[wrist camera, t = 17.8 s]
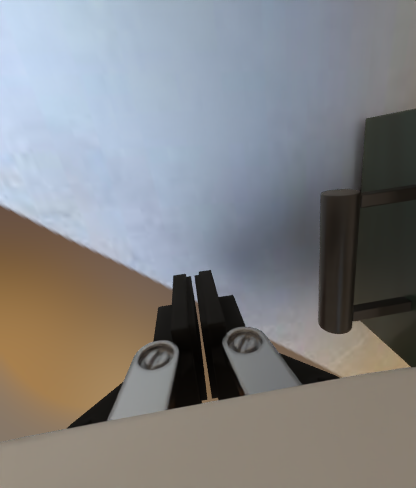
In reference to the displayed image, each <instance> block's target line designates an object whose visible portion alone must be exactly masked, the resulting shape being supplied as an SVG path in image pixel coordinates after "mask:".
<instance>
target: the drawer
mask: <svg viewBox="0 0 416 488" xmlns="http://www.w3.org/2000/svg"><path fill="white" fill-rule="evenodd" d="M359 320H360V321H361V322H362V323H363V324H365V325H366V326H367V327H368V328H369V329H370V330H371V331H372V332H373V333H374V334H376V335H377V336H378V337H379V338H380V339H381V340H382V341H383V342H384V343H385V344H387V345H388V346H389V347H390V348H391V349H392V350H393V351H394V352H395V353H396V354H398V355H399V356H400V357H401V358H402V359H403V360H404V361H405V362H406V363H407V364H409V365H410V366H411V367H416V109H411V110H406V111H401V112H396V113H391V114H386V115H381V116H376V117H371V118H367V119H366V124H365V139H364V153H363V168H362V182H361V191H359V190H353V189H337V190H329V191H325V192H322V193H321V200H320V255H319V311H318V323H319V325H320V327H321V328H322V329H324V330H325V331H328V332H330V333H334V334H344V333H347V332H349V331H350V330H351V328H352V321H359Z"/></svg>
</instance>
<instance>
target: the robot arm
mask: <svg viewBox="0 0 416 488" xmlns="http://www.w3.org/2000/svg"><path fill="white" fill-rule="evenodd" d="M195 283H196V290H197V298H198V306H199V314H200V322H201V329H202V336H203V342H204V349H205V355H206V362H207V368H208V374H209V381H210V388H211V394H212V398H218V399H219V400H218V401H213V402H208V403H202V400H207V393H206V384H205V375H204V367H203V358H202V349H201V341H200V332H199V325H198V319H197V313H196V306H195V300H194V293H193V287H192V280H191V276H189V277H186V274H181V275H175V276H173V294H172V305H168V306H162V307H159V308H158V313H157V321H156V327H155V334H154V341H153V342H152V343H149V344H147V345H145V346H144V347H142V348H141V349H140V350H139V351H138V352H137V353H136V355H135V356H134V358H133V361H132V363H131V365H130V368H129V370H128V372H127V375H126V377H125V379H124V382H122V383H121V384H120V385H119V386H118V387H116V388H115V389H114V390H113V391H111V392H110V393H109V394H108V395H107V396H105V397H104V398H103V399H102V400H100V401H99V402H98V403H97V404H95V405H94V406H93V407H92V408H91V409H90V410H88V411H87V412H86V413H84V414H83V415H82V416H81V417H80V418H78V419H77V420H76V421H75V422H73V423H72V424H71V425H70V426H69V427H68V428H67V429H64V430H58V431H53V432H48V433H42V434H38V435H32V436H27V437H22V438H18V439H13V440H9V441H5V442H0V488H416V367H409V368H402V369H395V370H388V371H381V372H374V373H367V374H361V375H356V376H350V377H345V378H339V377H337V376H335V375H333V374H330V373H328V372H325V371H323V370H320V369H318V368H315V367H313V366H310V365H308V364H305V363H303V362H300V361H298V360H295V359H293V358H290V357H288V356H285V355H283V354H280V353H278V351H277V350H276V348H275V347H274V346H273V344H272V343H271V342H270V340H269V339H268V338H267V336H266V335H265V334H264V333H263V332H262V331H260V330H258V329H256V328H253V327H246V326H245V324H244V321H243V319H242V316H241V314H240V311H239V309H238V306H237V304H236V301H235V298H234V296H233V295H230V296H223V297H218V294H217V291H216V287H215V283H214V280H213V276H212V273H211V270H207V271H201V272H199V275H195Z"/></svg>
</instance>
